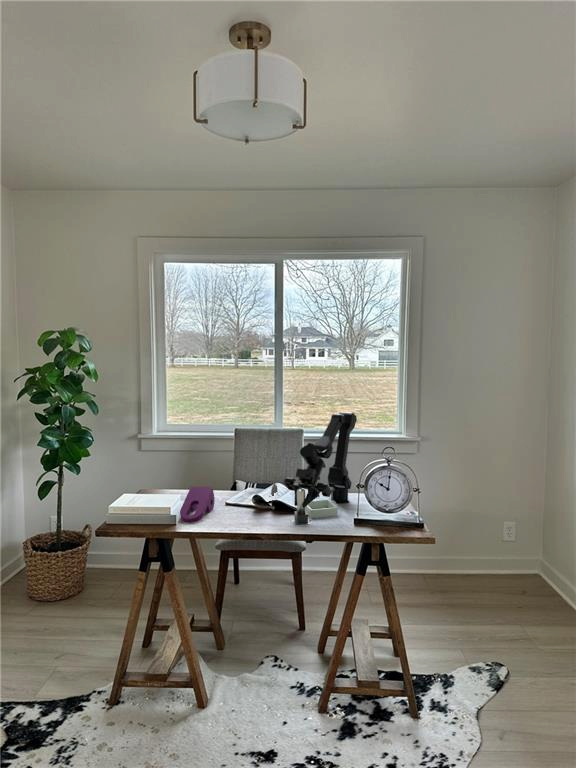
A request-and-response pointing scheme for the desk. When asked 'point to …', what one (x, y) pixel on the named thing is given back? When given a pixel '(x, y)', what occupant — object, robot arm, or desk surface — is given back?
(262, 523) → the desk surface
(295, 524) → the stud plate
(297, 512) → the strut
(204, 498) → the mounting bracket
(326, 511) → the bin
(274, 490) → the pocket watch
